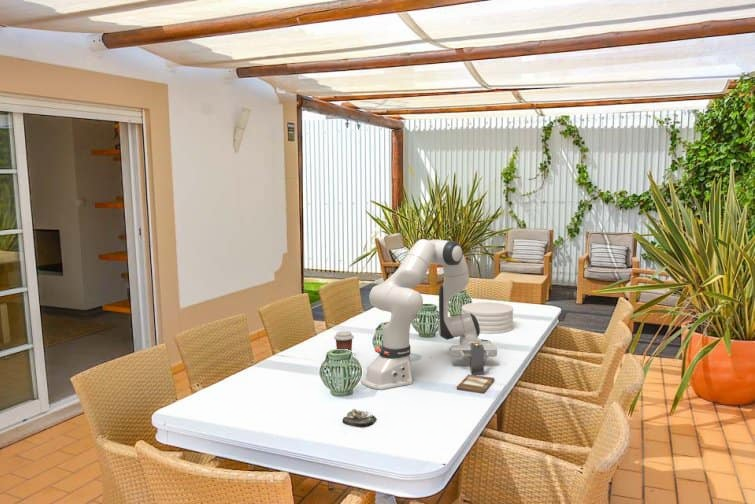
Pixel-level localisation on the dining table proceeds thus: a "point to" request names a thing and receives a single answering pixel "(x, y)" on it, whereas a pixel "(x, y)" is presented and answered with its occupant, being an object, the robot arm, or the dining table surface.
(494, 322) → the plate stack
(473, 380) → the walnut board
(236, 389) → the dining table surface
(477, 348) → the block
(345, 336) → the coffee cup
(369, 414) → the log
